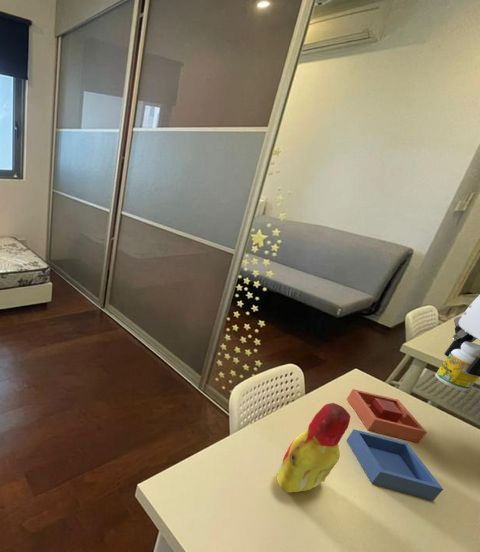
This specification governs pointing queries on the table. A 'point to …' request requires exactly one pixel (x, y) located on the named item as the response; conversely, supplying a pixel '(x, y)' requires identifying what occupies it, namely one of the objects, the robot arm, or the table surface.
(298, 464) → the bottle
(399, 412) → the red block
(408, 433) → the terracotta bin
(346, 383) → the table surface
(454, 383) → the supplement bottle
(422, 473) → the blue bin
